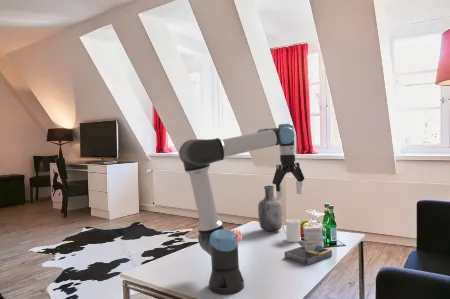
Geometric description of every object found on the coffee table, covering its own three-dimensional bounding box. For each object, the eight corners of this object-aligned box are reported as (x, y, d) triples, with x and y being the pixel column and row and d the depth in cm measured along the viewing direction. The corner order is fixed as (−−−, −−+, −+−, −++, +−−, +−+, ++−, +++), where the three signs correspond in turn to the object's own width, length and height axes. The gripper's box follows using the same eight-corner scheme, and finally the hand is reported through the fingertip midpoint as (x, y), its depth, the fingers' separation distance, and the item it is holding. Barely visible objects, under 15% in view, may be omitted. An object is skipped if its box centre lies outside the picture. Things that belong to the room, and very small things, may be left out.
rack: (306, 265, 166) (306, 258, 166) (284, 257, 179) (284, 251, 179) (332, 256, 177) (331, 249, 177) (309, 249, 189) (309, 243, 189)
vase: (268, 235, 219) (266, 189, 218) (254, 230, 233) (252, 186, 232) (288, 231, 227) (286, 186, 226) (273, 226, 241) (271, 183, 240)
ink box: (320, 247, 182) (319, 225, 182) (322, 250, 177) (321, 228, 177) (304, 248, 183) (303, 226, 183) (305, 251, 178) (304, 228, 178)
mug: (279, 239, 211) (278, 219, 210) (289, 236, 216) (287, 217, 216) (294, 243, 201) (293, 223, 201) (304, 239, 207) (302, 220, 206)
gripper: (274, 156, 164) (276, 200, 165) (310, 152, 178) (312, 193, 179) (263, 156, 170) (266, 198, 171) (299, 152, 184) (301, 191, 185)
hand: (289, 195), depth 175 cm, fingers open, 13 cm apart
